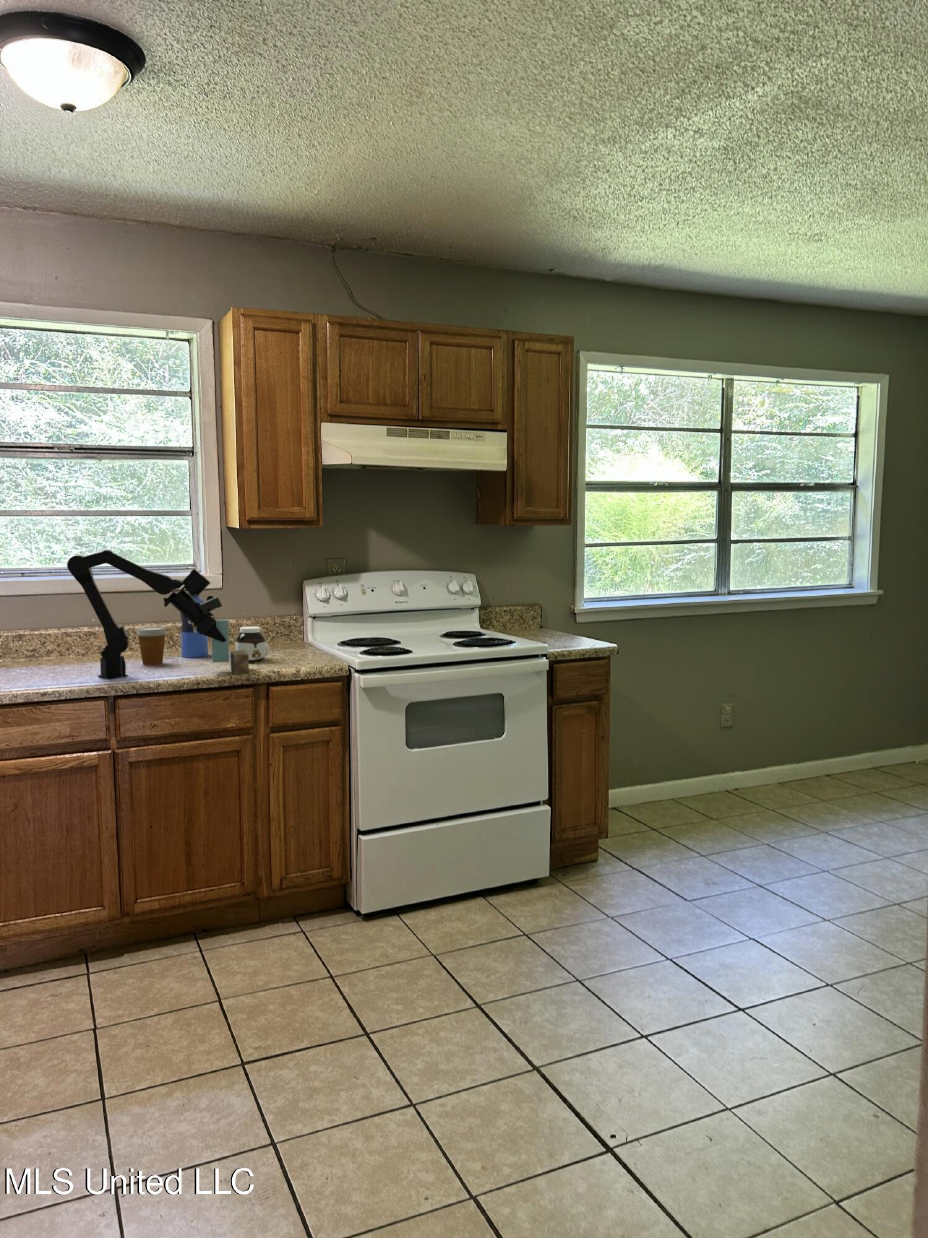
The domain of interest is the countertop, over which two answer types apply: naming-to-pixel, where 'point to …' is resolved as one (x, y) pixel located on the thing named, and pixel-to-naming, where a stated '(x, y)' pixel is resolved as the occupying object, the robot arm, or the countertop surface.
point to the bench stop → (239, 662)
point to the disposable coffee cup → (151, 644)
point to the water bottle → (192, 637)
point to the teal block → (221, 643)
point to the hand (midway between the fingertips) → (224, 640)
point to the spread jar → (252, 643)
